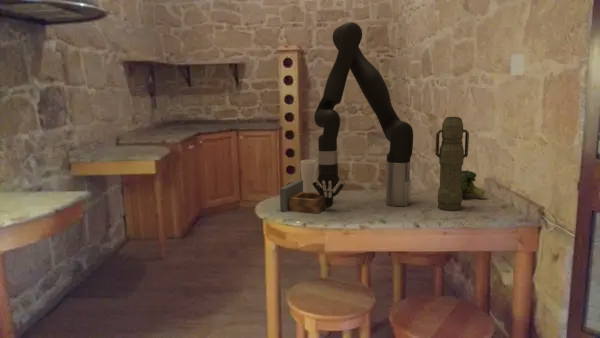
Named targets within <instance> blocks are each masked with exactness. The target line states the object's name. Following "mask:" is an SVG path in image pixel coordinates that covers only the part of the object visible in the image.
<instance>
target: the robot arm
mask: <svg viewBox="0 0 600 338" xmlns="http://www.w3.org/2000/svg"><path fill="white" fill-rule="evenodd" d="M362 30H363V29H362V27H361V26H360V25H358V23H356V22H353V21H349V22H345V23H343V24H341V25H340V26H337V27H336V28H335V29H334V30H333V33H332V41H333V42H332V43H333V44H334V46H335V48H336V49H337V51H338V52H337V55H336V59H335V61H334V62H333V63H334V64H333V66H332V67H331V70H330V72H329V74H328V77H327V80H326V83H325V87H324V92H323V95H322V97H321V99H320V100H319V103H318V105H317V107H316V110H315V113H314V115H313V116H314V123H315V125H316V126H317V127H320V128H323V131H322V134H320V135H319V136H318V140H317V143H318V148H317V149H318V155H317V165H318V166H317V169H318V170H317V172H318V176H317V179H316V180H315V182H314V183H313V186H314V187H315V189H314V190H315V191H317V193H319V194H320V195H321V196H324V197H325V205H327V207H326V208H328V207H329V208H331V207H332V206H333V205H334V198H335V197H337V196H338V195H339V193H340V192H341V191H342V189H343V188H344V187H345V186H346V183H345V182H342V181H341V180H340V177H339V155H338V154H339V153H338V140H337V139H338V136H339V131H340V127H341V117H340V114H339V112H338V111H337V110H335V107H336V106H337V105H339V104H340V103H341V102H342V98H343V95H344V90H345V86H346V83H347V79H348V76H349V72H350V71H351V73H352V75H353V77H354V79H355V81H356V82H357V85H358V87H359V89H360V90H361V92H362V94H363V96H364V97H365V99H366V101H367V102H368V105H369V106H370V108H371V109H372V111H373V112H374V114H375V116H376V118H377V120H378V123H379V124H380V128H381V130H382V132H383V134H384V136H385V139H386V140H387V141H389V142H390V143H389V152H388V153H387V154H386V171H385V173H386V175H385V176H386V178H385V180H386V181H385V182H386V183H385V204H386V205H388V206H393V207H404V206H405V207H407V206H409V205H410V203H411V194H412V193H411V191H412V189H411V187H412V186H411V185H412V179H411V157H412V156H413V150H414V147H413V146H414V130H413V127H412V126H411V124H410V123H408V122H406V121H403V120H401V119H400V117H399V116H398V114H397V113H396V111H395V109H394V107H393V104H392V101H391V96H390V91H389V89H388V86H387V83H386V82H385V79H384V78H383V76H382V74H381V73H380V71H379V70H378V69H377V68H376V67H375V66H374V64H372V63H371V62H370V60H368V59H367V58H366V56H364V54H363V52H362V50H361V48H360V44H361V42H362V39H363V31H362ZM336 186H337V189H335V187H336ZM322 187H323V189H322Z"/></svg>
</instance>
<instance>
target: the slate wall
mask: <svg viewBox="0 0 600 338" xmlns="http://www.w3.org/2000/svg"><path fill="white" fill-rule="evenodd" d="M299 192H303V180H301V179H296V180H294V181H293V182H290V183H289V184H287V185H284V186H282V187H280V188H279V204H280V206H279V207H280V212H285V213H287V212H288V211H289V198H290V197H292V196H293V195H295V194H297V193H299Z"/></svg>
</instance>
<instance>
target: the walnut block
mask: <svg viewBox="0 0 600 338" xmlns="http://www.w3.org/2000/svg"><path fill="white" fill-rule="evenodd" d="M326 208H328V207H327V205H325V197H324V196H321V195H320V194H319V193H318V192H315V193H313V192H299V193H297V194H295V195H293V196H292V197H290V198H289V210H288V211H289V212H297V213H307V214H308V213H309V214H317V215H318V214H320V213H321V212H322V211H324V210H326Z"/></svg>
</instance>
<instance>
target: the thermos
mask: <svg viewBox="0 0 600 338" xmlns="http://www.w3.org/2000/svg"><path fill="white" fill-rule="evenodd" d="M464 133H465V134H464ZM440 134H441V138H442V139H441V145H440ZM464 135H465V136H464ZM463 137H465V139H464V142H463ZM469 139H470V133H469V131H468V129H465V128H464V123H463V120H462V118H461V117H459V116H447V117H445V118H444V120H443V122H442V125H441V129H438V130H437V132H436V133H435V156H436V157H437V158H438V161H439V162H438V163H439V166H440V167H439V188H438V190H437V204H438V205H437V209H438V210H440V211H446V212H455V211H456V212H457V211H461V210H462V203H463V195H462V190H461V175H462V171H463V169H462V168H463V165H464V159H465V158H468V155H469V144H470V143H469V142H470V141H469ZM463 143H464V146H463Z"/></svg>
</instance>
